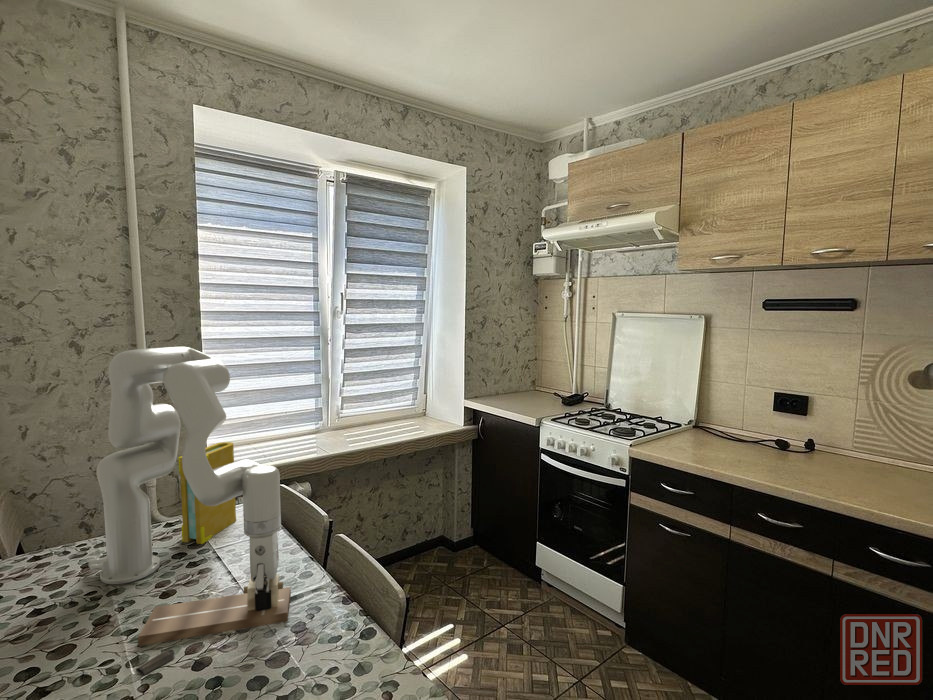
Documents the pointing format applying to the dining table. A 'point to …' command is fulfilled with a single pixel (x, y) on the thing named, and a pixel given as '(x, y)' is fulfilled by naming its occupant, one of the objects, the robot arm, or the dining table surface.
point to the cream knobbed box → (274, 588)
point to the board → (210, 617)
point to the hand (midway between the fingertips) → (264, 601)
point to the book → (200, 517)
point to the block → (156, 662)
